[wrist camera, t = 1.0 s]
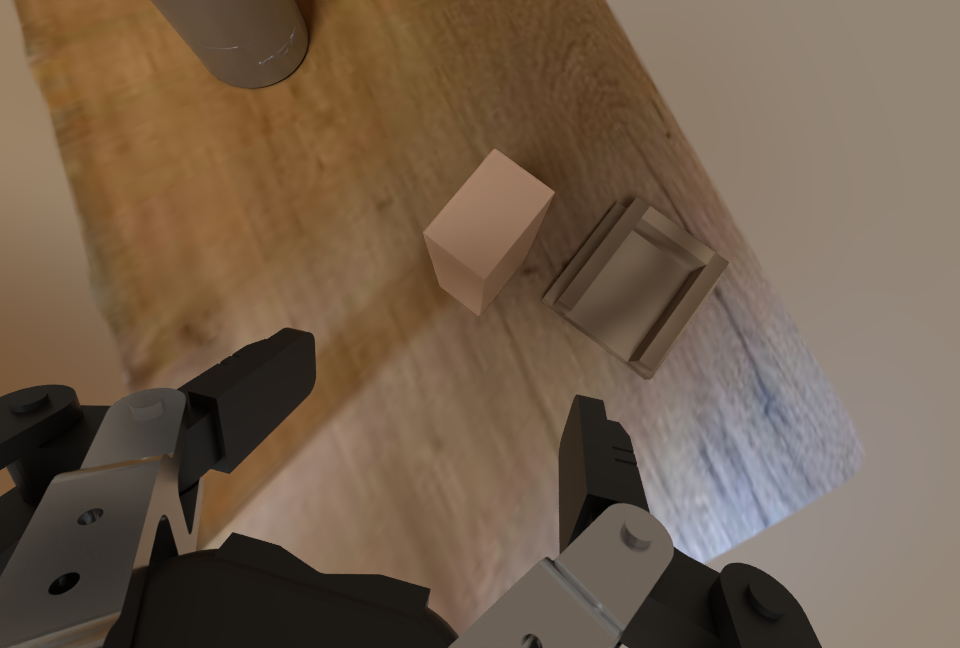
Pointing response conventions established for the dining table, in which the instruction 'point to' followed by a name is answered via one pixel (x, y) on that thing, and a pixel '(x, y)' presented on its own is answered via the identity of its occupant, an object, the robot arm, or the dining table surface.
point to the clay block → (486, 230)
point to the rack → (636, 285)
